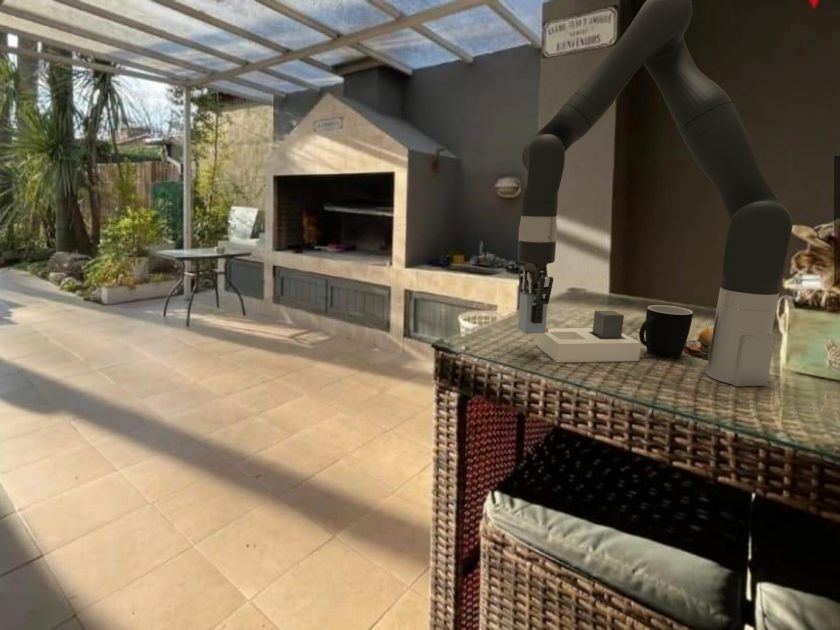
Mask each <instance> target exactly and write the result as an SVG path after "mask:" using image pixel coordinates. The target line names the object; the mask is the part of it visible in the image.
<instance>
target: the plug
mask: <svg viewBox="0 0 840 630" xmlns="http://www.w3.org/2000/svg"><path fill="white" fill-rule="evenodd" d="M540 298H541V297H540ZM518 307H519V308H518V323H517V324H518V325H517V328H518V330H519V331H521V332H522V333H523V334H524V335H531V334H534V335H535V334H536V335H537V334H538V333H545V330H546V327H547V313H548V304H545V305H544V306H543V317H542V323H539V324H534V323H532V322H531V312H532V296H531V295H530V294H529V292H520V291H519V306H518Z"/></svg>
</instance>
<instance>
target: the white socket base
mask: <svg viewBox="0 0 840 630" xmlns="http://www.w3.org/2000/svg"><path fill="white" fill-rule="evenodd" d="M593 314H594V316H593V324H592V325H593V326H592V327H589V328H587V327H583V328H582V327H579V328H577V327H576V328H575V327H574V328H571V327H570V328H569V327H568V328H562V327H560V328H548V327H547V326H546V330H545V333H538V334H536V336H537V337H536V347H538V348H539V349H540V350H541V351H542V352H543V353H545V354H546V355H547V356H548V357H550V358H551V359H552V360H553V361H554V362H556V363H592V362H593V363H598V362H604V363H606V362H639V361H640V353H641V346H642V343H641V341H639V340H636V339H635V338H632V337H630V336H629V335H627V334H625V333H623V325H624V320H625V319H624V318H625V315H624V314H622V313H620V312H617V311H615V310H594V313H593Z"/></svg>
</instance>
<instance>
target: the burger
mask: <svg viewBox="0 0 840 630" xmlns="http://www.w3.org/2000/svg"><path fill="white" fill-rule="evenodd" d="M706 326H707V323H706ZM712 333H713V328H708V327H706V328H705V329H704V330H702V331H701V332H700V333H699V335H698V338H697V339H696V340H695V339H693V340H688V341H686V344H685V347H684V350H683V353H684V352H686V355H689V356H691V357H694V358H697V359H701V358H702V359H701V360H706V361H708V358H709V351H710V345H711V339H712Z"/></svg>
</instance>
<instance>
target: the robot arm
mask: <svg viewBox="0 0 840 630" xmlns="http://www.w3.org/2000/svg"><path fill="white" fill-rule="evenodd" d="M692 15H693V2H692V0H646V1H645V2H644V3H643V5H642V6H641V7H640V9H639V11H638V12H637V14H636V15H635V17H634V18H633V19H632V22H631V23H630V24H629V26H628V27H627V29H626V30H625V32H624V33H623V34H622V36H621V38H620V39H619V40H618V42H616V44H615V45H614V47H613V48H612V49H611V51H610V52H609V53H608V54H607V55H606V57H605V58H604V59H603V60H602V61H601V63H600V64H599V65H598V66H597V67H596V68H595V70H593V72H592V73H591V74H590V75H589V76H588V77H587V78H586V79H585V80H584V82H583V83H582V84H581V85H580V86H579V87H578V88H577V90H575V92H574V93H573V94H572V95H571V97H569V98H568V99H567V101H566V102H565V103H564V104H562V106H561V107H560V109H558V111H557V112H556V114H555V115H554V116H553V117H552V118H551V119H550V121H548V122H547V123H546V124H545V125H544V126H543V127H542V128H541V129H540V130H538V132H537V133H536V134H535V135H533V137H532V138H531V139H530V140H529V141H528V142H527V143H526V145H525V146H524V148H523V151H522V153H521V163H522V166H523V167H524V169H525V170H526V171H527V177H526V179H527V181H526V186H525V188H524V190H523V193H522V197H521V216H520V223H519V228H518V243H517V245H518V247H517V260H518V262H520V263H522V264H524V266H523V268H519V270H518V282H519V283H518V284H519V286H518V287H519V293H520V292H529V294H530V295H531V296H532V312H531V322H532V323H534V324H539V323H542V317H543V306H544V305H545V304H547V305H549V303H550V299H551V295H552V288H553V284H554V277H553V276H548V264H553V263H554V262H555V260H556V247H557V236H558V235H557V234H558V233H557V232H558V224H557V222H558V221H557V220H558V219H557V215H558V201H559V199H558V198H559V189H560V186H561V183H562V178H563V174H564V168H565V159H566V158H565V157H566V152H567V150H568V149H569V148H571V146H572V145H574V144H575V142H577V141H578V140H581V138H582V137H584V136H585V135H586V134H588V132H589V131H591V130H592V128H593V127H594V126H595V125H596V124H597V122H598V121H600V119H602V117H603V116H604V115H605V114H606V113H607V111H608V110H609V109H610V107H611V106H612V105H613V104H614V102H615V101H616V99H617V98H618V97H619V95H620V94H621V92H623V90H624V89H625V87H626V86H627V85H628V84H629V82H630V80H631V79H632V78H633V76H634V75H635V74H636V73H637V71H639V69H640V68H642V66H644V67H645V69H646V70H647V72H648V73H649V75H650V76H651V78H652V79H653V81H654V82H655V84H656V85H657V87H658V89H659V92H660V93H661V96H662V97H663V100H664V102H665V104H666V106H667V108H668V110H669V113H670V115H671V116H672V118H673V120H674V122H675V125H676V128H677V130H678V132H679V134H680V136H681V138H682V139H683V142H684V144H685V146H686V148H687V150H688V152H689V153H690V154H691V157H692V158H693V160H694V161H695V163H696V164H697V165H698V167H699V168H700V169H701V170H702V172H703V173H704V175H705V176H706V177H707V178H708V179H709V181H710V182H711V183H712V185H713V186H714V188H715V189H716V191H717V193H718V194H719V196H720V199H721V201H722V203H723V205H724V207H725V210H726V213H727V215H728V219H729V223H728V228H727V232H726V239H725V244H724V245H725V246H724V251H723V259H722V266H721V280H720V286H719V287H720V288H719V293H718V300H717V303H716V309H715V317H714V321H713V322H714V323H713V328H712V329H713V333H712V339H711V345H710V351H709V358H708V360H707V365H706V372H705V373H706V375H707V377H709V378H711V379H714V380H715V381H719V382H721V383H725V384H730V385H732V386H734V387H766V386H767V384H768V383H767V382H768V378H769V373H770V369H771V368H770V367H771V363H772V358H773V353H774V349H775V347H774V346H775V342H776V336H775V335H772V332H773V328H774V324H775V323H774V322H775V318H776V312H777V311H776V310H777V307H778V303H779V298H780V293H781V287H782V283H783V278H784V272H785V266H786V262H787V256H788V250H789V246H790V242H791V241H790V240H791V236H792V231H793V225H794V223H793V217H792V214H791V213H790V212H789V210H788V209H787V208H786V207H785V206H784V204H783V203H782V202H781V200H780V199H779V197H778V196H777V195H776V194H775V192H774V191H773V189H772V187H771V186H770V184H769V183H768V181H767V180H766V178H765V176H764V175H763V173H762V171H761V168H760V167H759V164H758V161H757V158H756V155H755V151H754V149H753V145H752V143H751V141H750V138H749V135H748V133H747V130H746V129H745V128H746V127H745V126H744V124H743V121H742V118H741V117H740V115H739V113H738V110H737V109H736V107H735V105H734V103H733V102H732V100H731V98H730V96H729V95H728V93H727V92H726V91H725V90H724V89H723V88H722V87H721V86H720V85H718V84H717V83H716V82H715V81H713V80H712V79H710V78H709V77H708V76H706V75H705V74H704V73H702V71H701V70H700V69H699V68H698V66H697V65H696V63H695V61H694V60H693V57H692V56H691V53H690V51H689V49H688V47H687V44H686V41H685V38H684V35H685V33H686V31H687V30H688V27H689V26H690V22H691V20H692V17H693V16H692ZM540 297H541V298H540Z"/></svg>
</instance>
